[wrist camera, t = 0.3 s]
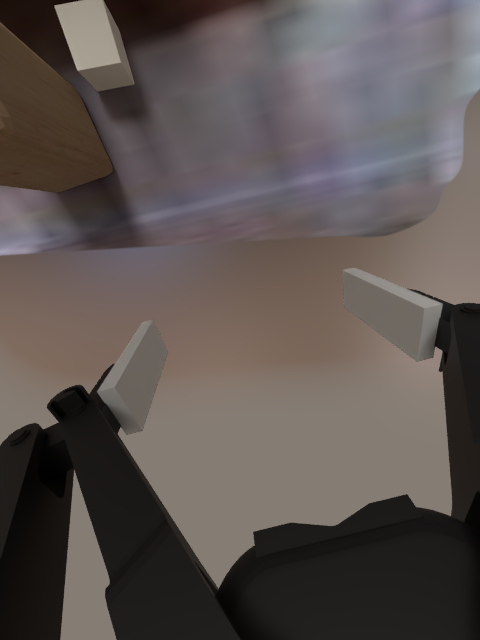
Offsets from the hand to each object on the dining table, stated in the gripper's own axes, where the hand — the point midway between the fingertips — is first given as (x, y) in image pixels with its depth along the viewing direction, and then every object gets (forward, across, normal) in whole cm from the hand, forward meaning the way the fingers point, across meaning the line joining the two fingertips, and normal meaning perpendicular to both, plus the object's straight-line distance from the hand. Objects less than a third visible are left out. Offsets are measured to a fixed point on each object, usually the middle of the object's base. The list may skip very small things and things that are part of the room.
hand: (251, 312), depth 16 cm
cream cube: (+28, -9, +26) cm, 39 cm away
